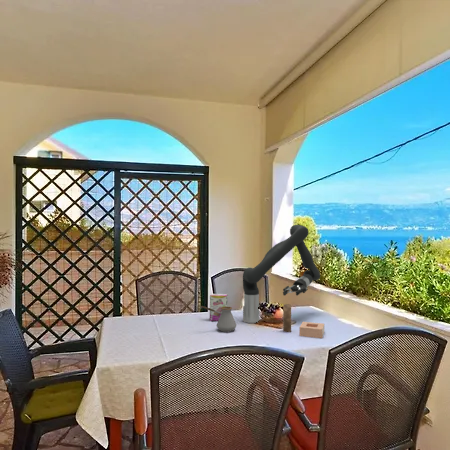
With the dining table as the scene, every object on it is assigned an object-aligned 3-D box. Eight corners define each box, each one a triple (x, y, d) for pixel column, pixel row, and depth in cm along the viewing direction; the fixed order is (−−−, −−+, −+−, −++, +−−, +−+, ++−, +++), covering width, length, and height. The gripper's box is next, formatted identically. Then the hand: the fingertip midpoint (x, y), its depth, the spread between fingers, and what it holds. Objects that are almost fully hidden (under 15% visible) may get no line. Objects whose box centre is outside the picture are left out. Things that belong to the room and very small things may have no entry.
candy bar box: (209, 321, 234) (209, 295, 234) (210, 319, 239) (210, 293, 239) (227, 321, 233) (227, 295, 233) (227, 319, 238) (227, 293, 238)
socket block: (299, 335, 204) (299, 327, 204) (302, 330, 215) (302, 321, 215) (322, 338, 200) (322, 329, 200) (324, 332, 211) (324, 323, 211)
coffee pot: (232, 326, 223) (232, 301, 222) (239, 331, 212) (239, 305, 212) (197, 329, 216) (197, 303, 216) (202, 335, 205) (202, 308, 205)
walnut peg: (282, 331, 212) (282, 305, 211) (284, 329, 216) (284, 303, 216) (290, 332, 210) (290, 306, 210) (291, 330, 214) (291, 304, 214)
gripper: (290, 278, 241) (278, 288, 228) (310, 278, 232) (299, 288, 219) (292, 289, 242) (281, 299, 229) (313, 289, 233) (302, 300, 220)
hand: (290, 294), depth 224 cm, fingers open, 8 cm apart
